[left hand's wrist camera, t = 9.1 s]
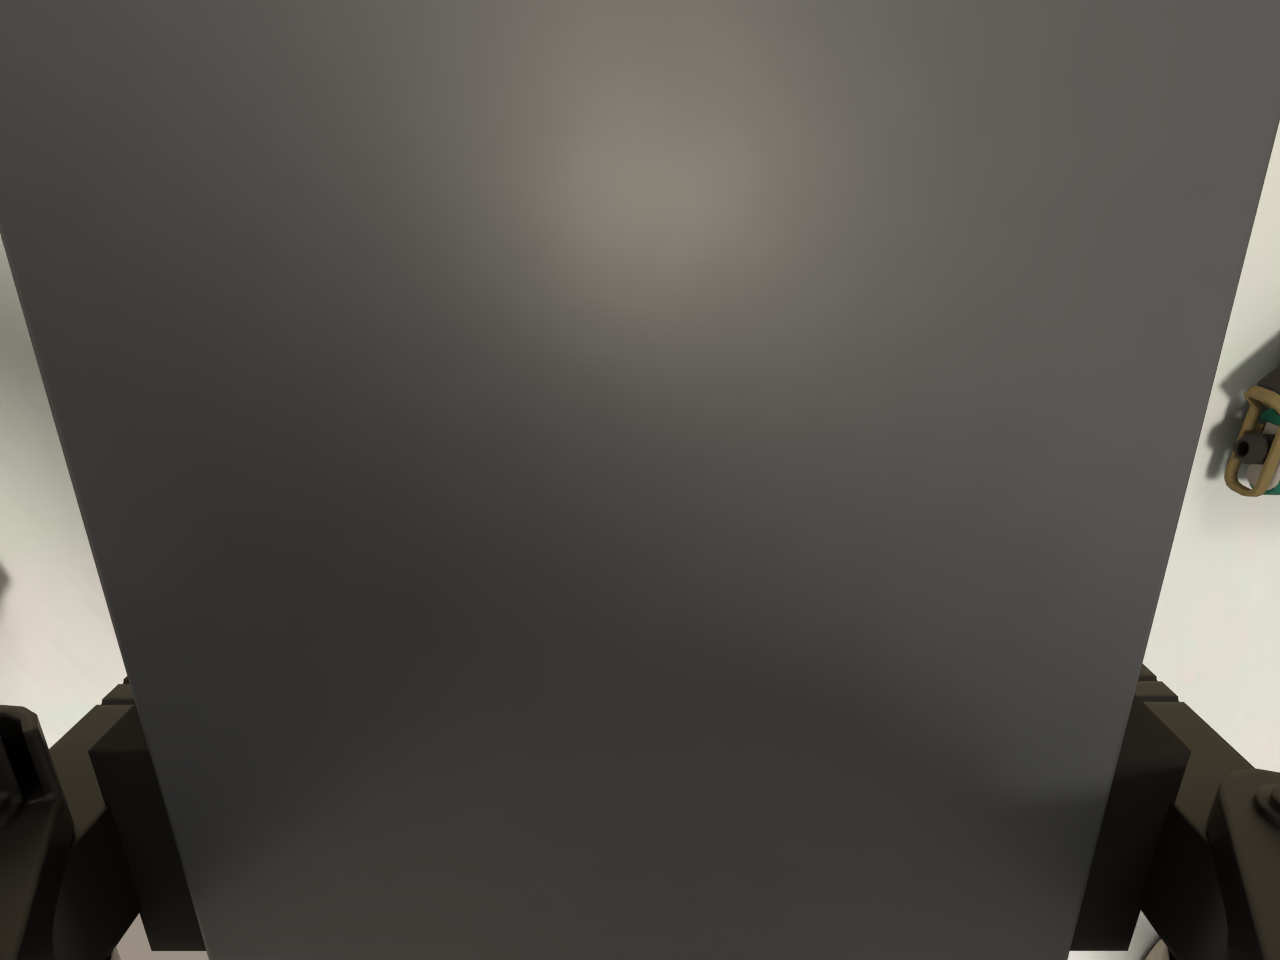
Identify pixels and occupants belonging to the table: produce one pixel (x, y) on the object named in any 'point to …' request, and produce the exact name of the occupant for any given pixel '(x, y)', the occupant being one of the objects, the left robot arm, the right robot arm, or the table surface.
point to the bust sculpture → (1156, 951)
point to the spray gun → (1259, 441)
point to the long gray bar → (632, 446)
